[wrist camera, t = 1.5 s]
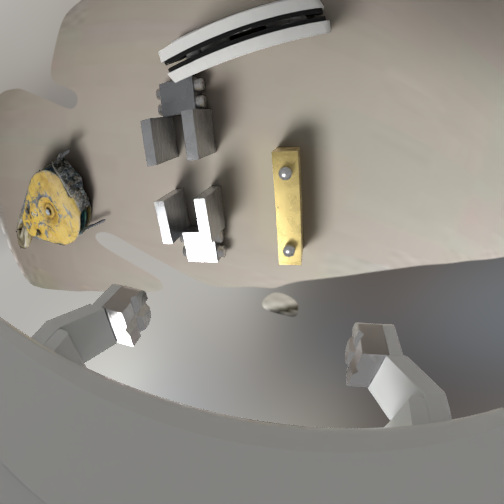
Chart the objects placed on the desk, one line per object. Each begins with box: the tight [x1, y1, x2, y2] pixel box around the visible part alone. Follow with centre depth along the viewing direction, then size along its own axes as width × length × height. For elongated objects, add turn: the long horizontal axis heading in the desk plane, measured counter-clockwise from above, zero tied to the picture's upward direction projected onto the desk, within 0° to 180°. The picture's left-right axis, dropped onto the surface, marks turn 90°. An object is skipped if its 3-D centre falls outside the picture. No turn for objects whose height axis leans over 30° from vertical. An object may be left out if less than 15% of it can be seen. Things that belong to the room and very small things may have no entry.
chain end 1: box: [141, 76, 216, 166], centre depth 25 cm, size 6×9×5 cm, turn 5°
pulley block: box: [16, 149, 105, 249], centre depth 37 cm, size 14×6×30 cm
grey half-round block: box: [159, 0, 331, 83], centre depth 18 cm, size 17×5×10 cm, turn 108°
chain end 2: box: [154, 186, 226, 262], centre depth 31 cm, size 6×9×5 cm, turn 6°
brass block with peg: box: [272, 147, 303, 265], centre depth 28 cm, size 2×12×5 cm, turn 6°
